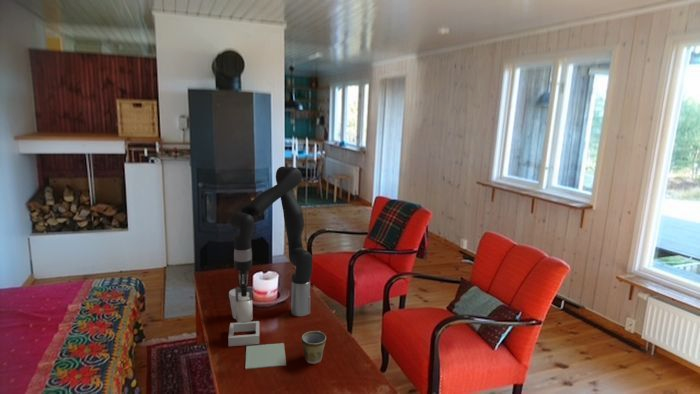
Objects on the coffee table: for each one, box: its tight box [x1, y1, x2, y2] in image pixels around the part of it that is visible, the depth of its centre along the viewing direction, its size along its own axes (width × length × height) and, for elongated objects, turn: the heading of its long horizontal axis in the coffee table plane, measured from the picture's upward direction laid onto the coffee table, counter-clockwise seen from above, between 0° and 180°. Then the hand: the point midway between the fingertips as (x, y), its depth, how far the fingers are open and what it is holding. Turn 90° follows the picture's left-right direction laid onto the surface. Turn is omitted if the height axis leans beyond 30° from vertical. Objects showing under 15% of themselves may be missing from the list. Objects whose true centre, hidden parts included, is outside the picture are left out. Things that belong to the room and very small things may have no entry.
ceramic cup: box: [301, 329, 327, 365], centre depth 174 cm, size 13×10×10 cm
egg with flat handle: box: [234, 285, 254, 323], centre depth 184 cm, size 7×7×15 cm
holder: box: [227, 320, 260, 347], centre depth 187 cm, size 13×13×4 cm
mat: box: [244, 342, 287, 370], centre depth 174 cm, size 16×16×1 cm
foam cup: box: [228, 288, 250, 320], centre depth 205 cm, size 10×9×13 cm
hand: (244, 295), depth 184 cm, fingers closed on egg with flat handle, 1 cm apart
